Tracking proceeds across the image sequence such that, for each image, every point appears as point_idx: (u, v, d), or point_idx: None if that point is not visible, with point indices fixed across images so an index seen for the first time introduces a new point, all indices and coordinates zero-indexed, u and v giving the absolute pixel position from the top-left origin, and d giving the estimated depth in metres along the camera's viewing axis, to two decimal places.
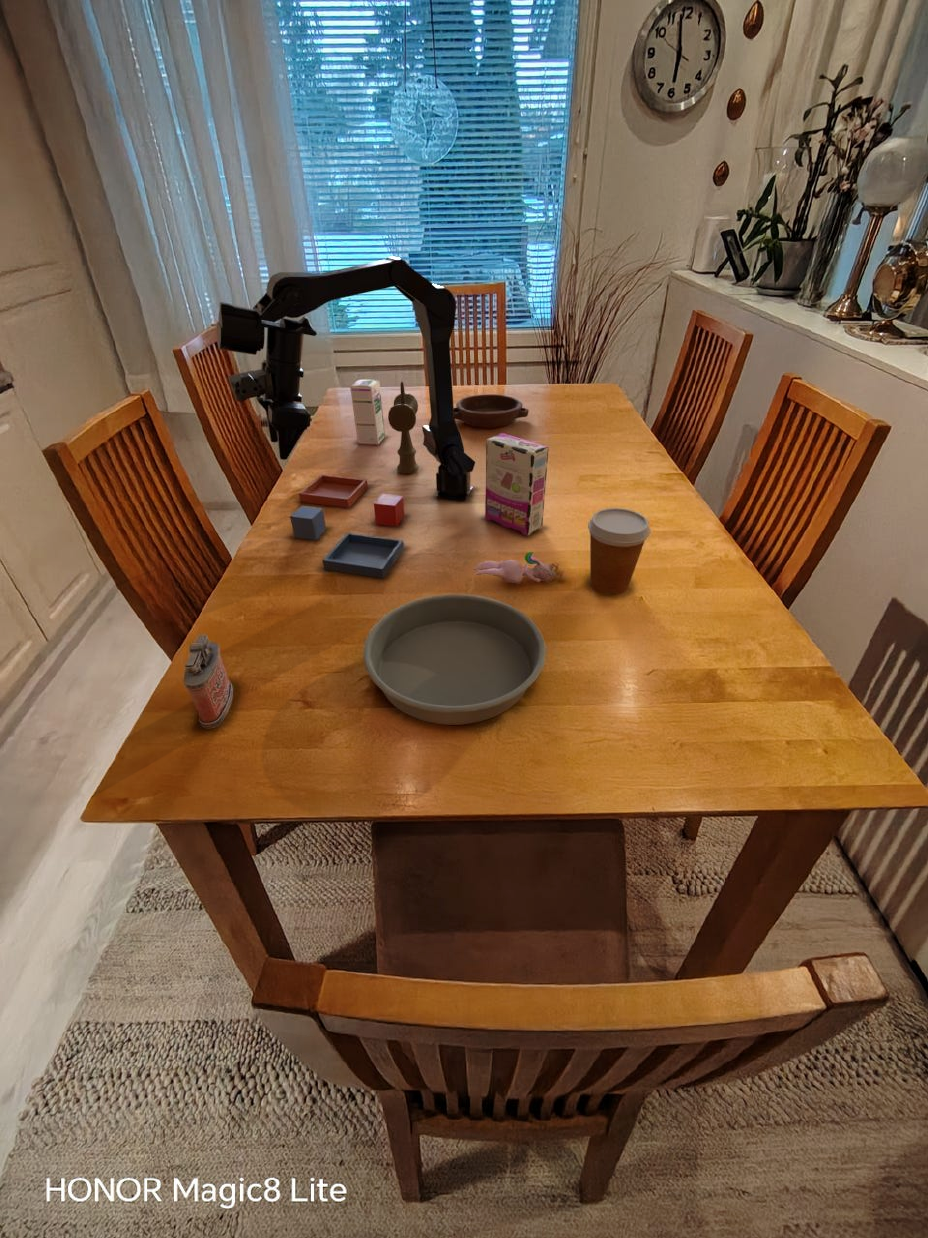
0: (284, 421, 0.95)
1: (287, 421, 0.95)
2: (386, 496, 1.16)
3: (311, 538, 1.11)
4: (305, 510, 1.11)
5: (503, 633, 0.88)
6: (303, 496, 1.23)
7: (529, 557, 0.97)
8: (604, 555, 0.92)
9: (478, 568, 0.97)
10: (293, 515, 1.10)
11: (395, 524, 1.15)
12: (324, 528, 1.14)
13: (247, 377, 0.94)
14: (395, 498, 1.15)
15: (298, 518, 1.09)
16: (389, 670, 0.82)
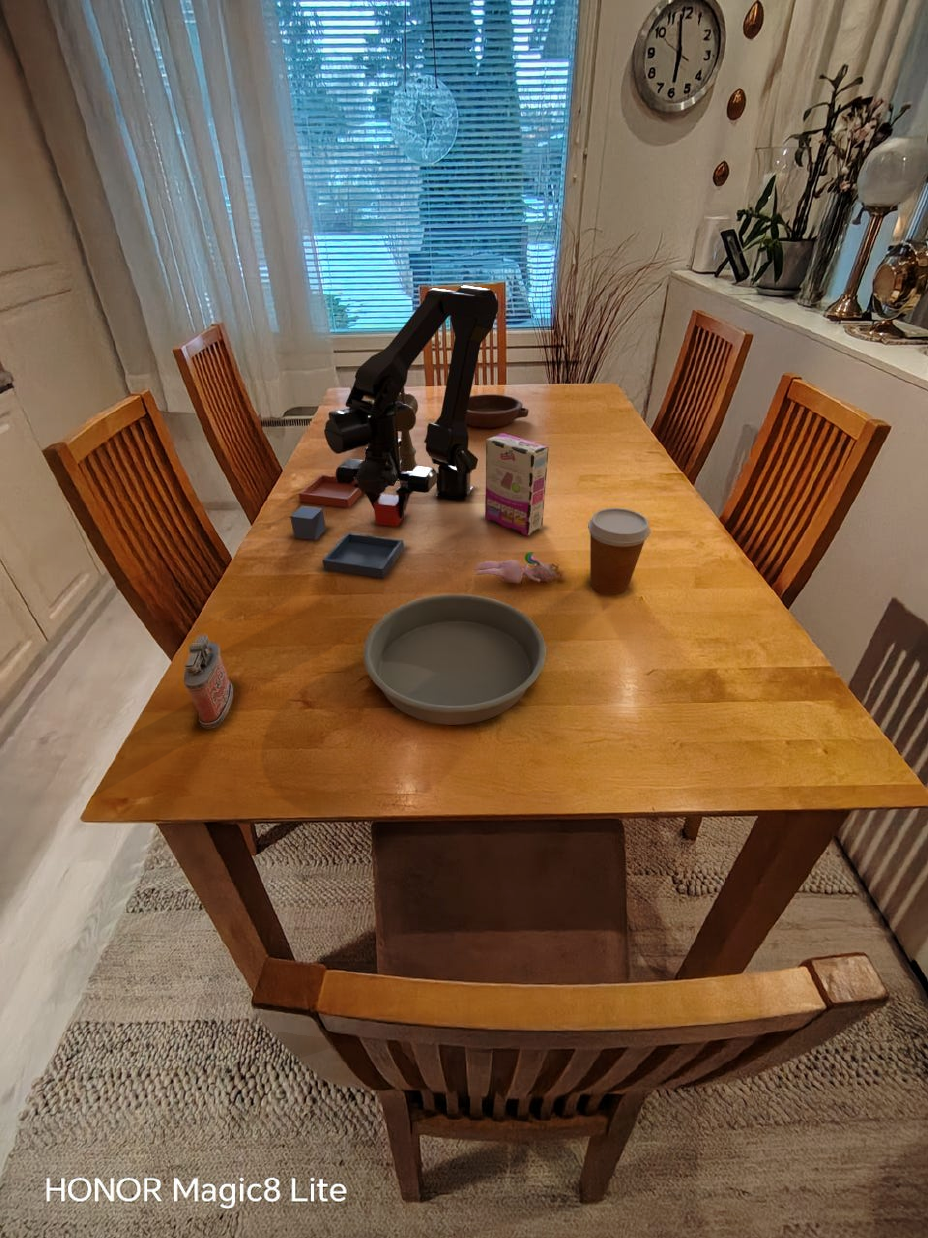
0: (431, 486, 1.09)
1: (431, 484, 1.10)
2: (386, 496, 1.16)
3: (311, 538, 1.11)
4: (305, 510, 1.11)
5: (503, 633, 0.88)
6: (303, 496, 1.23)
7: (529, 557, 0.97)
8: (604, 555, 0.92)
9: (478, 568, 0.97)
10: (293, 515, 1.10)
11: (395, 524, 1.15)
12: (324, 528, 1.14)
13: (393, 468, 1.03)
14: (395, 498, 1.15)
15: (298, 518, 1.09)
16: (389, 670, 0.82)
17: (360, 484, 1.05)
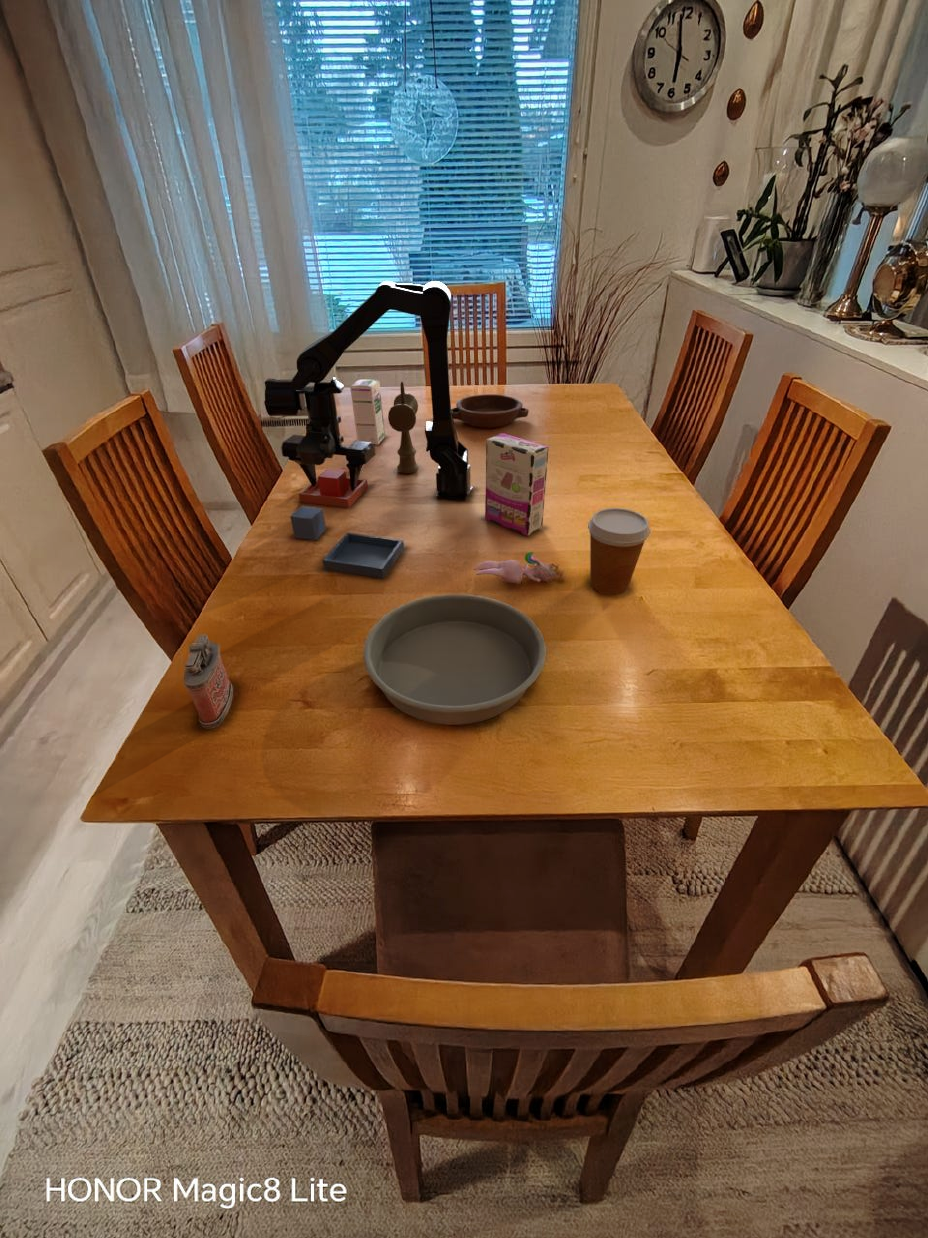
0: (368, 459, 1.19)
1: (368, 457, 1.19)
2: (330, 470, 1.25)
3: (311, 538, 1.11)
4: (305, 510, 1.11)
5: (503, 633, 0.88)
6: (303, 496, 1.23)
7: (529, 557, 0.97)
8: (604, 555, 0.92)
9: (478, 568, 0.97)
10: (293, 515, 1.10)
11: (338, 496, 1.24)
12: (324, 528, 1.14)
13: (330, 441, 1.13)
14: (338, 472, 1.25)
15: (298, 518, 1.09)
16: (389, 670, 0.82)
17: (300, 456, 1.14)
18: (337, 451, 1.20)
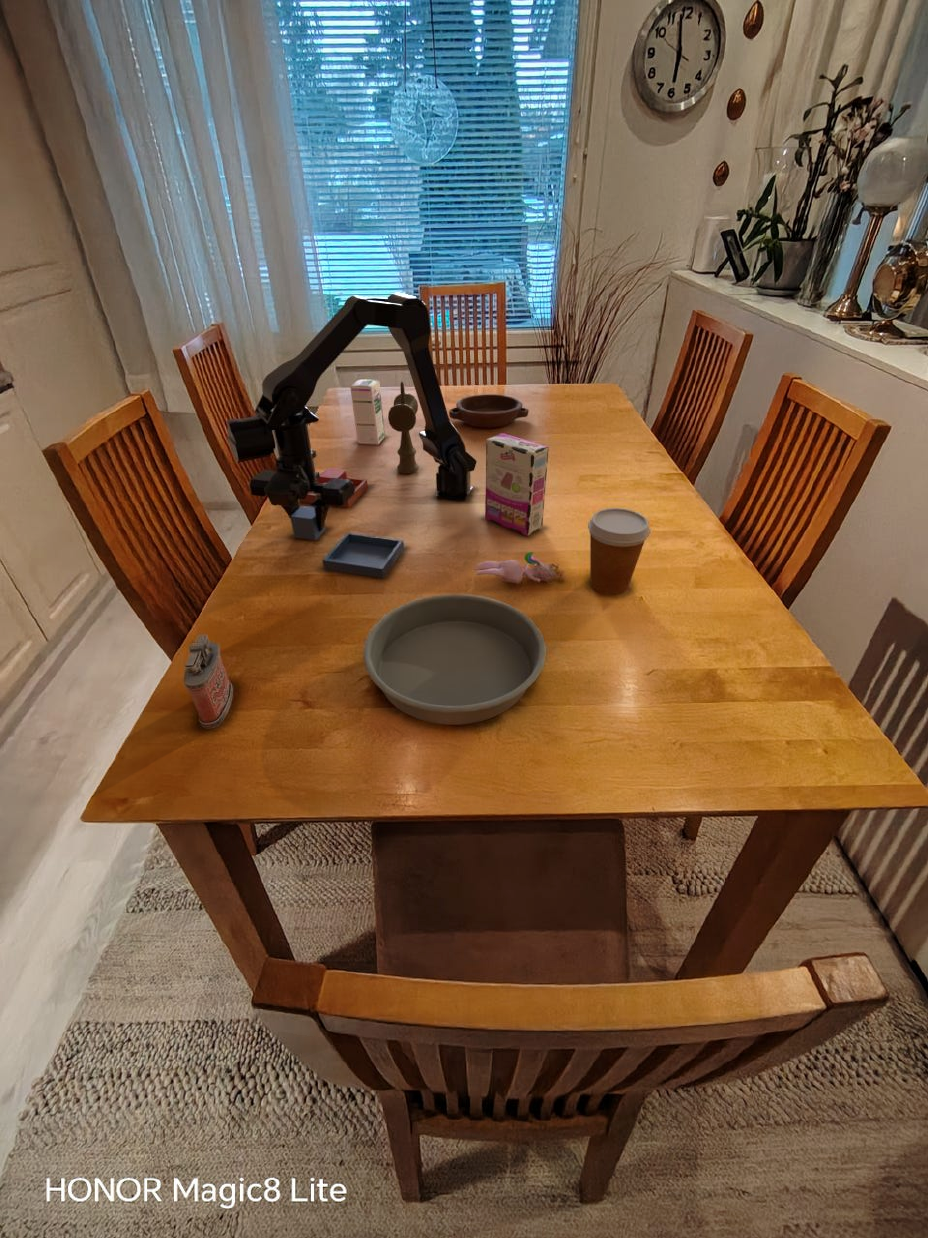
0: (346, 498, 1.05)
1: (347, 497, 1.05)
2: (330, 470, 1.25)
3: (311, 538, 1.11)
4: (305, 510, 1.11)
5: (503, 633, 0.88)
6: None
7: (529, 557, 0.97)
8: (604, 555, 0.92)
9: (478, 568, 0.97)
10: (293, 515, 1.10)
11: None
12: (324, 528, 1.14)
13: (302, 481, 0.99)
14: (338, 472, 1.25)
15: (298, 518, 1.09)
16: (389, 670, 0.82)
17: (269, 497, 1.01)
18: (312, 489, 1.07)
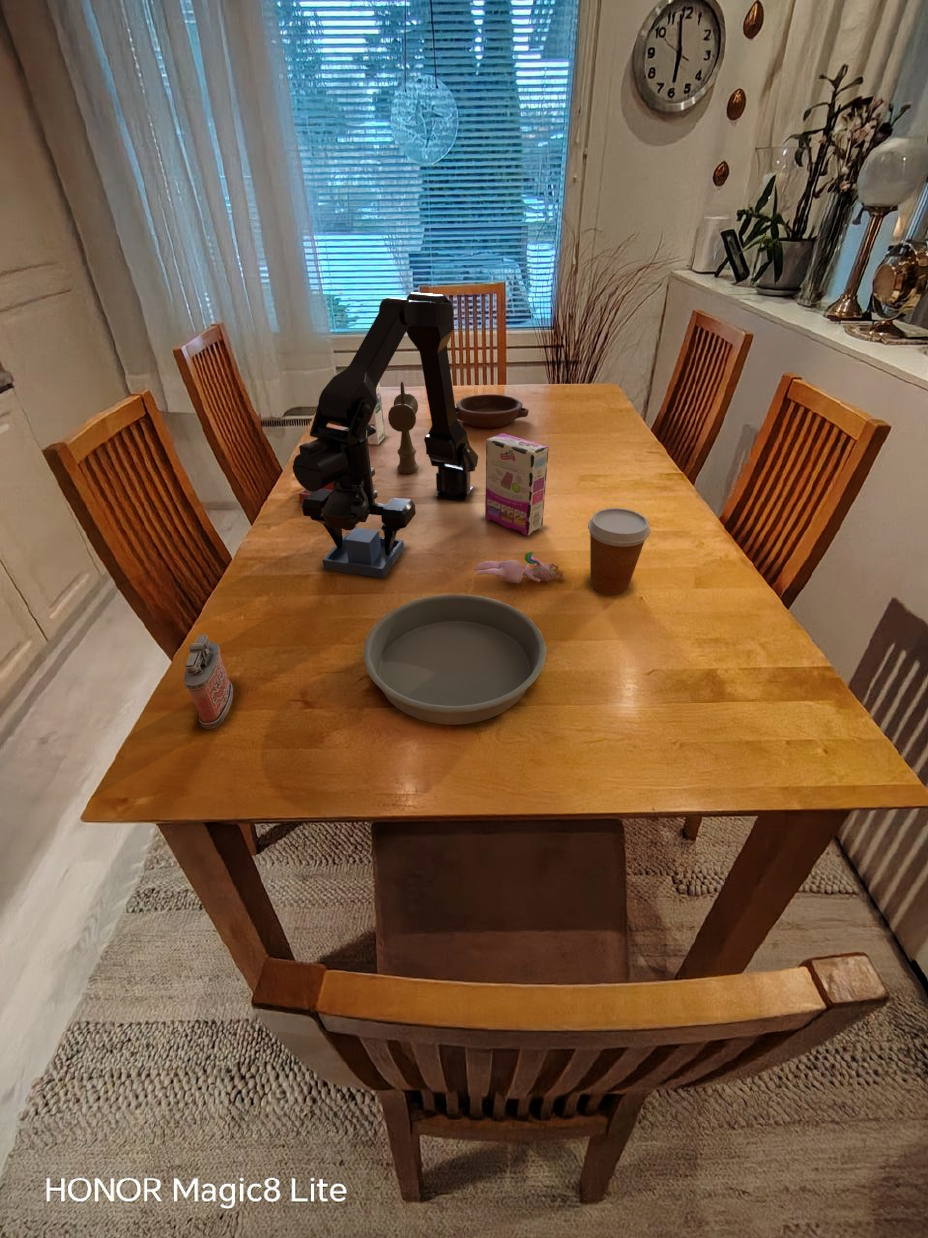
0: (408, 520, 0.97)
1: (409, 519, 0.97)
2: None
3: (367, 563, 1.03)
4: (361, 532, 1.04)
5: (503, 633, 0.88)
6: (303, 496, 1.23)
7: (529, 557, 0.97)
8: (604, 555, 0.92)
9: (478, 568, 0.97)
10: (348, 538, 1.02)
11: None
12: (380, 551, 1.06)
13: (363, 503, 0.91)
14: None
15: (354, 541, 1.01)
16: (389, 670, 0.82)
17: (327, 520, 0.93)
18: (370, 510, 0.99)
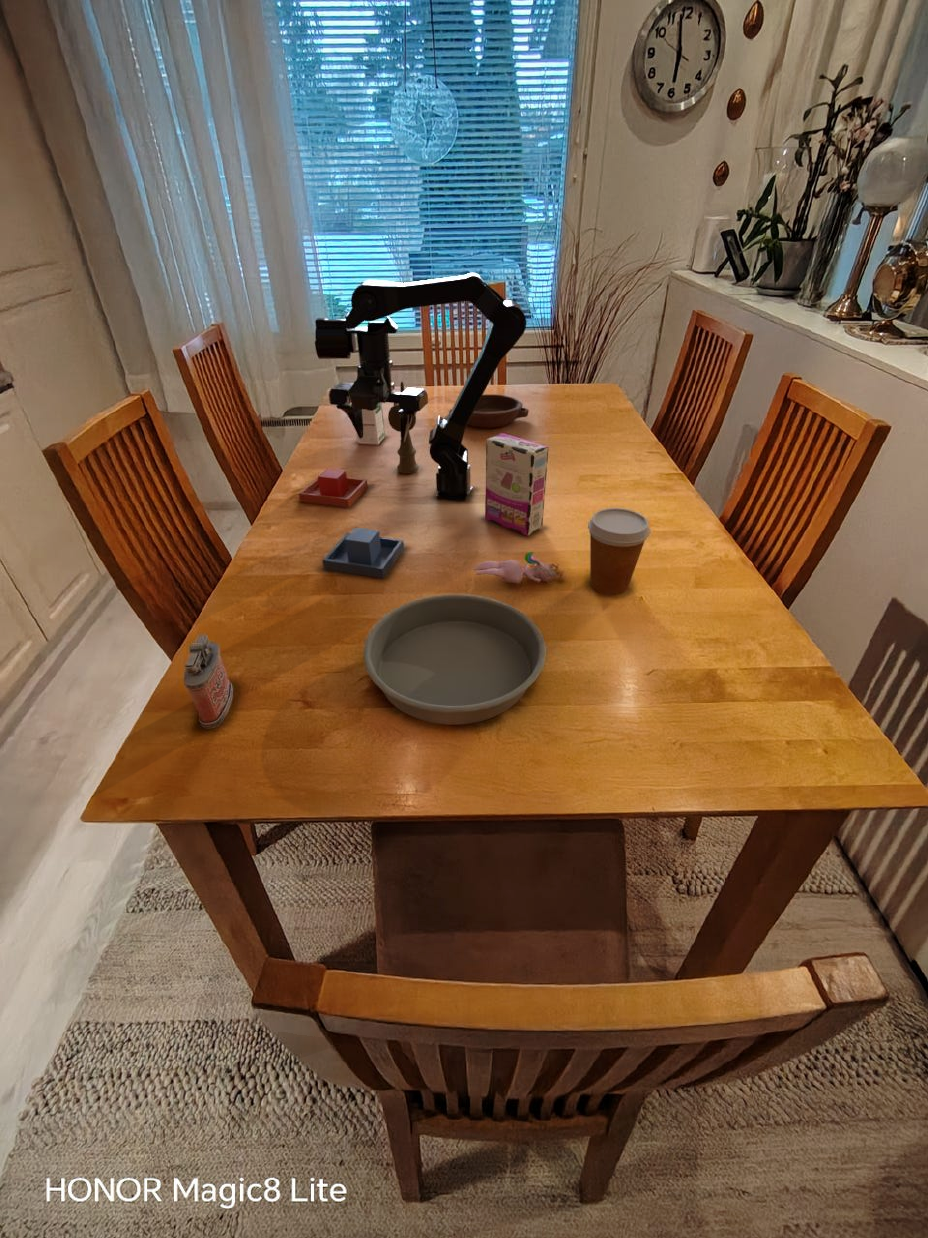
0: (421, 405, 1.12)
1: (422, 404, 1.12)
2: (330, 470, 1.25)
3: (367, 563, 1.03)
4: (361, 532, 1.04)
5: (503, 633, 0.88)
6: (303, 496, 1.23)
7: (529, 557, 0.97)
8: (604, 555, 0.92)
9: (478, 568, 0.97)
10: (348, 538, 1.02)
11: (338, 496, 1.24)
12: (380, 551, 1.06)
13: (384, 384, 1.06)
14: (338, 472, 1.25)
15: (354, 541, 1.01)
16: (389, 670, 0.82)
17: (352, 401, 1.08)
18: (388, 398, 1.14)
